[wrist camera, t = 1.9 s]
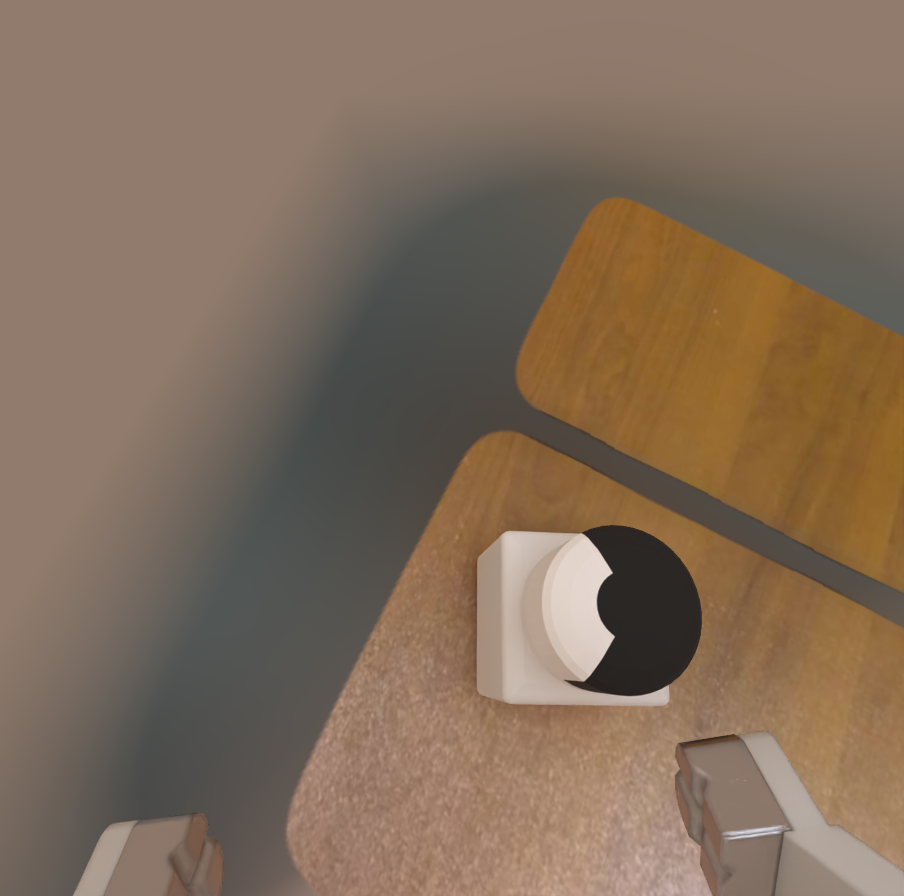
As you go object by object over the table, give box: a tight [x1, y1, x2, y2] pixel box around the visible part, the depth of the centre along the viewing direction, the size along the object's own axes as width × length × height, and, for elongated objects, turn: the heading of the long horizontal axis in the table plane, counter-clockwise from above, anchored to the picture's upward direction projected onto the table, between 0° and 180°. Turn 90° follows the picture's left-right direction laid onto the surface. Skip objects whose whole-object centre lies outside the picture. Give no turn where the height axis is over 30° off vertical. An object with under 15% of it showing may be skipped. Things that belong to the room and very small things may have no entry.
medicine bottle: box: [477, 525, 702, 706], centre depth 27 cm, size 7×7×12 cm
